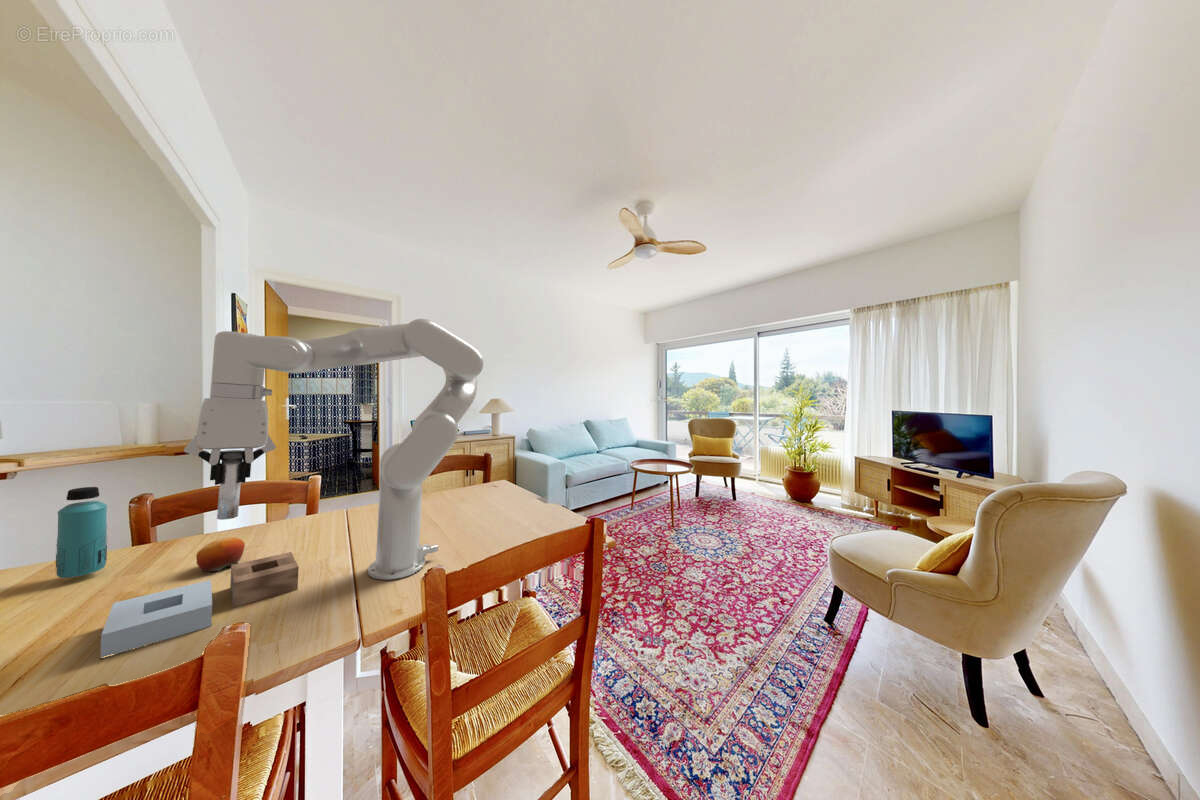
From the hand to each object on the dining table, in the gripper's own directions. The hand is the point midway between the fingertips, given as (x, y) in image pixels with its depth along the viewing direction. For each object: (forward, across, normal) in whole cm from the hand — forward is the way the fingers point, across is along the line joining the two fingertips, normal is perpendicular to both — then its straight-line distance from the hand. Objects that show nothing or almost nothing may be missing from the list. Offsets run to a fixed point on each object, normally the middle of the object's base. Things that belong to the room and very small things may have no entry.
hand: (230, 481), depth 73 cm
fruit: (+25, 0, -20) cm, 32 cm away
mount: (+25, -7, -1) cm, 26 cm away
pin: (+7, 0, 0) cm, 7 cm away
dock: (+25, +7, +3) cm, 26 cm away
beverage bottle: (+26, +21, -32) cm, 46 cm away
